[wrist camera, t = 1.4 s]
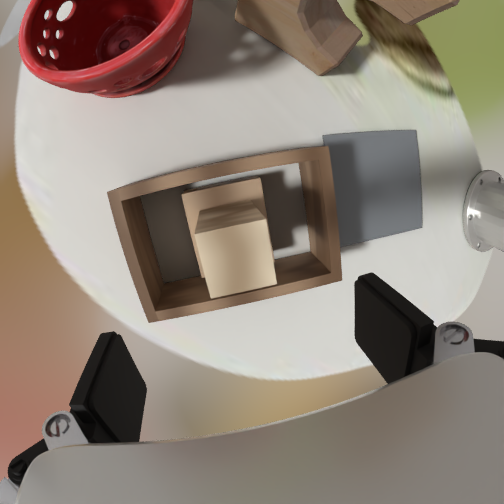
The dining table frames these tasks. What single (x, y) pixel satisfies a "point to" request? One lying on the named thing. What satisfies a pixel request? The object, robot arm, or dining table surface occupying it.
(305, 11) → the decorative block
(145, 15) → the plant pot
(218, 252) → the maple block
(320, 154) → the walnut box
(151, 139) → the dining table surface
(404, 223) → the mat
